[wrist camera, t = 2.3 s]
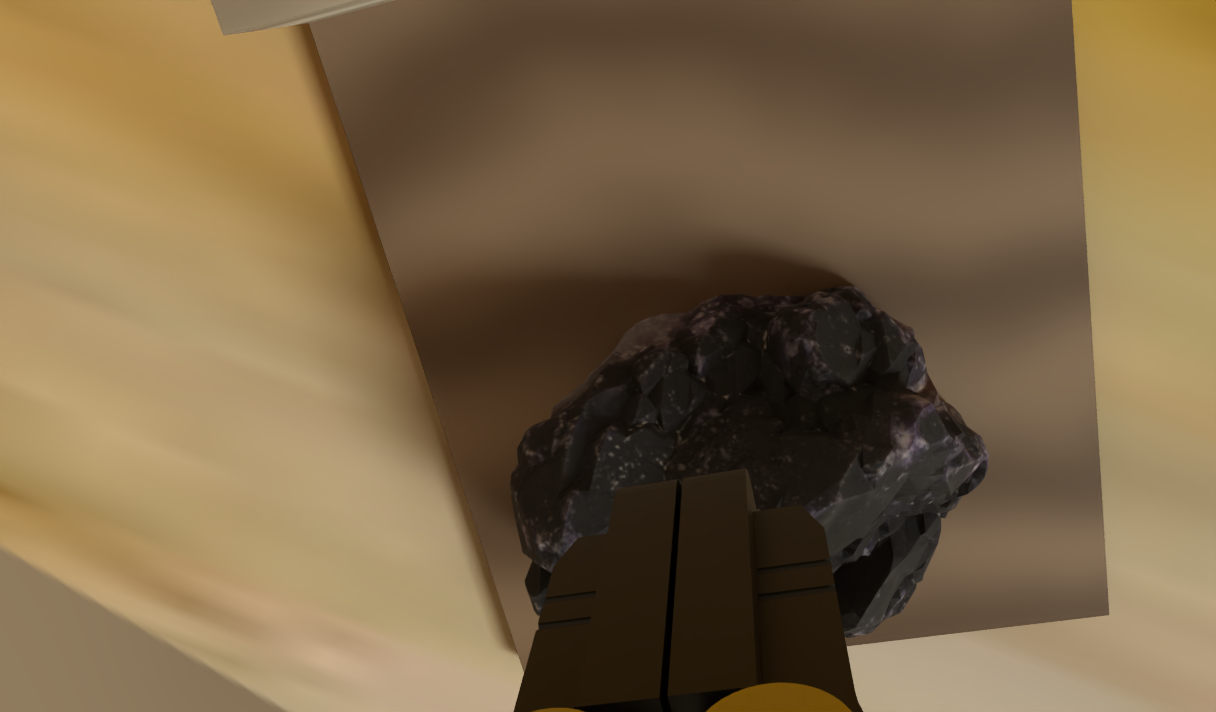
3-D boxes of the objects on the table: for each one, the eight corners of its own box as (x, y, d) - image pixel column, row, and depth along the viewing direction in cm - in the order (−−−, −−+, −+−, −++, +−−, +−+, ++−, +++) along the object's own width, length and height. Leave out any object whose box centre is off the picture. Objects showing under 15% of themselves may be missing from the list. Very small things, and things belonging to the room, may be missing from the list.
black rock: (1037, 458, 32) (1192, 618, 22) (736, 698, 35) (757, 928, 25) (759, 167, 30) (796, 204, 20) (468, 449, 33) (382, 596, 23)
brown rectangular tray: (1098, 596, 32) (1176, 727, 27) (532, 665, 36) (499, 793, 30) (1039, -285, 23) (1140, -363, 18) (292, -71, 27) (181, -80, 21)
